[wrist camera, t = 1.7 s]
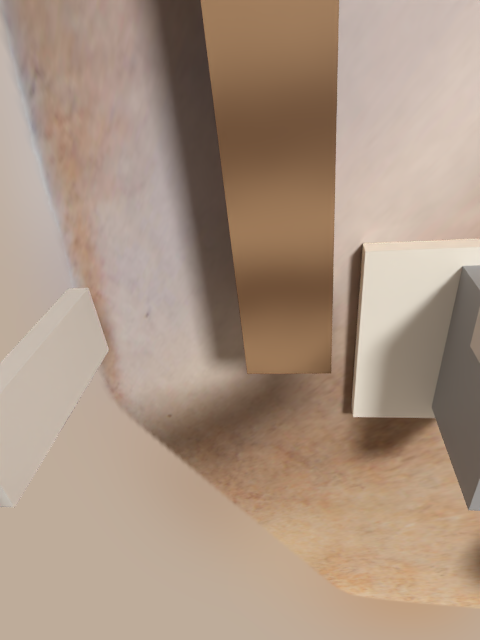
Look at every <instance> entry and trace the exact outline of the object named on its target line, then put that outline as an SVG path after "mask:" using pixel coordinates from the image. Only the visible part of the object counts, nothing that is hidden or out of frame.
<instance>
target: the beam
mask: <svg viewBox="0 0 480 640" xmlns="http://www.w3.org/2000/svg"><path fill="white" fill-rule="evenodd" d="M201 8H202V16H203V24H204V32H205V40H206V48H207V56H208V64H209V72H210V80H211V88H212V96H213V104H214V112H215V120H216V128H217V136H218V144H219V152H220V160H221V168H222V176H223V184H224V192H225V199H226V207H227V215H228V223H229V231H230V239H231V247H232V255H233V263H234V271H235V279H236V287H237V295H238V303H239V311H240V319H241V327H242V335H243V343H244V351H245V359H246V367H247V374H299V373H331V352H332V304H333V257H334V209H335V162H336V114H337V67H338V19H339V0H201Z"/></svg>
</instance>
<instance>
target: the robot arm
mask: <svg viewBox="0 0 480 640" xmlns="http://www.w3.org/2000/svg"><path fill="white" fill-rule="evenodd" d="M470 347H471V349H472V350H473V352H474V354H475V356H476V357H477V359H478V361H479V363H480V308H479V312H478V316H477V320H476V324H475V328H474V332H473V336H472V340H471V344H470ZM108 351H109V348H108V345H107V342H106V339H105V336H104V333H103V330H102V327H101V324H100V321H99V318H98V315H97V312H96V309H95V306H94V303H93V300H92V297H91V294H90V291H89V288H70V289H67V290H66V291H65V293H64V294H63V295H62V296H61V297H60V298H59V299H58V300H57V301H56V303H55V304H54V305H53V306H52V307H51V308H50V309H49V310H48V311H47V312H46V314H45V315H44V316H43V317H42V318H41V319H40V320H39V321H38V322H37V323H36V324H35V325H34V327H33V328H32V329H31V330H30V331H29V332H28V333H27V334H26V335H25V336H24V337H23V339H22V340H21V341H20V342H19V343H18V344H17V345H16V346H15V347H14V348H13V349H12V351H11V352H10V353H9V354H8V355H7V356H6V357H5V358H4V359H3V360H2V362H1V363H0V507H15V506H16V505H17V503H18V501H19V500H20V498H21V496H22V495H23V493H24V491H25V490H26V488H27V486H28V484H29V483H30V481H31V480H32V478H33V476H34V475H35V473H36V471H37V470H38V468H39V466H40V465H41V463H42V461H43V460H44V458H45V456H46V455H47V453H48V451H49V449H50V448H51V446H52V445H53V443H54V441H55V440H56V438H57V436H58V434H59V433H60V431H61V429H62V427H63V426H64V424H65V423H66V421H67V419H68V418H69V416H70V414H71V413H72V411H73V409H74V408H75V406H76V404H77V403H78V401H79V399H80V398H81V396H82V394H83V393H84V391H85V389H86V388H87V386H88V384H89V382H90V381H91V379H92V378H93V376H94V374H95V373H96V371H97V369H98V368H99V366H100V364H101V363H102V361H103V359H104V358H105V356H106V354H107V353H108Z"/></svg>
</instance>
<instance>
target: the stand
mask: <svg viewBox="0 0 480 640" xmlns="http://www.w3.org/2000/svg"><path fill="white" fill-rule="evenodd" d="M479 308H480V238H477V239H455V240H432V241H409V242H386V243H363V248H362V262H361V277H360V291H359V305H358V319H357V333H356V348H355V362H354V376H353V390H352V404H351V407H352V414H353V417H389V418H436V421H437V424H438V426H439V429H440V432H441V435H442V438H443V440H444V443H445V446H446V449H447V452H448V454H449V457H450V460H451V463H452V466H453V468H454V471H455V474H456V477H457V479H458V482H459V485H460V488H461V491H462V493H463V496H464V499H465V502H466V505H467V507H468V510H477V511H480V363H479V361H478V359H477V357H476V356H475V354H474V352H473V350H472V349H471V347H470V344H471V340H472V336H473V332H474V328H475V324H476V320H477V316H478V312H479Z"/></svg>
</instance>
